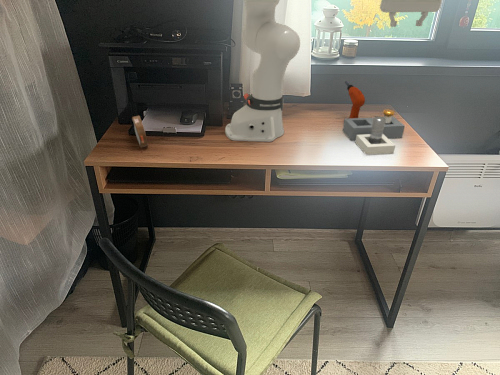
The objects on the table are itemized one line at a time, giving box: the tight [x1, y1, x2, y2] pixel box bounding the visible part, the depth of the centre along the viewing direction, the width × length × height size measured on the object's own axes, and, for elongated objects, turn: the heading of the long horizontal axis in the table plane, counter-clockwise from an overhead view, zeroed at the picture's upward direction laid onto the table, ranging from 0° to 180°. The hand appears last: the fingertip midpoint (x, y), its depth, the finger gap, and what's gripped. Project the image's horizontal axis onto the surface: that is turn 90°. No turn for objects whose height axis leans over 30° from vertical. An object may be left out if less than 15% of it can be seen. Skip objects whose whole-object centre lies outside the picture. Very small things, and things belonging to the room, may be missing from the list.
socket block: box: [342, 116, 406, 142], centre depth 143 cm, size 20×9×5 cm, turn 99°
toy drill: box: [344, 80, 366, 118], centre depth 152 cm, size 5×19×15 cm, turn 8°
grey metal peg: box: [369, 115, 386, 144], centre depth 132 cm, size 4×4×11 cm
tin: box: [131, 115, 149, 148], centre depth 133 cm, size 15×3×8 cm, turn 22°
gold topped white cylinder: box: [382, 108, 396, 125], centre depth 143 cm, size 4×4×9 cm
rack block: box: [354, 134, 396, 156], centre depth 134 cm, size 10×10×3 cm
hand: (405, 26), depth 131 cm, fingers open, 8 cm apart
